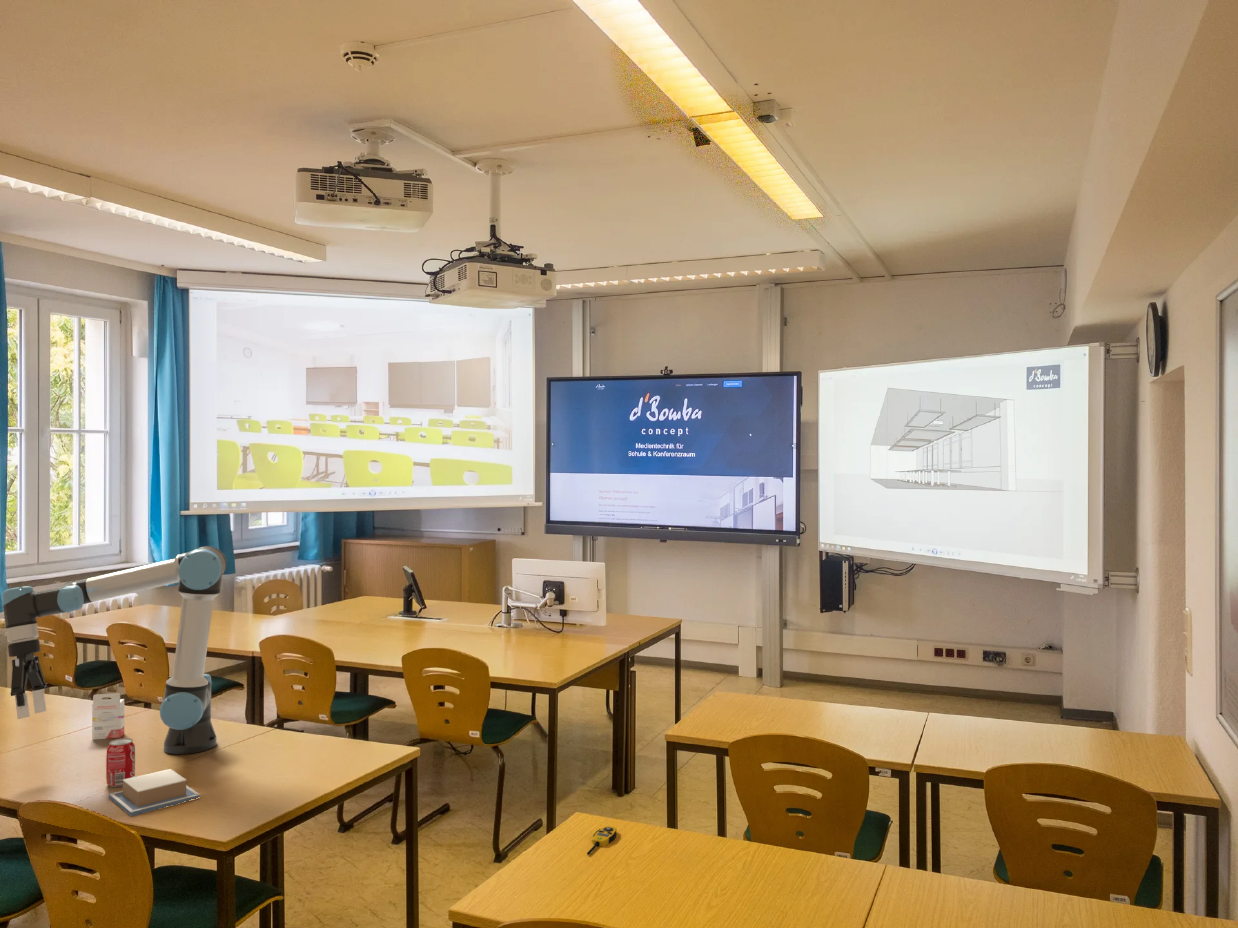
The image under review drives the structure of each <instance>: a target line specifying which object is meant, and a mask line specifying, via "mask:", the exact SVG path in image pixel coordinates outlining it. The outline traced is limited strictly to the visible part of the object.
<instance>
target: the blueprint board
mask: <svg viewBox="0 0 1238 928" xmlns="http://www.w3.org/2000/svg"><path fill="white" fill-rule="evenodd" d="M198 797H200V798H201V794H200V793H199V792H197V791H196V790H194V788H191V787H190V786H189V785H188V784H187V779H186V778H185V777H183V776H182V775H181V774H179V773H177V772H176V771H175V770H173V769H172V768H169V769H164V770H163V769H162V770H159V771H156V772H151V773H147V774H141V775H138V776H136V775H135V777H132V778H128V779H123V786H122V790H120V791H114V792H110V793H108V799H110V800H111V801H112V802H113V803H115V805H116V806H118V807H119V808H121V810H123V811H124V812H125V813H126V814H127V815H128V816H130V817H134V816H138V815H143V814H146V812H147V813H150V812H154V811H157V809H158V810H160V809H159V808H162V809H165V808H164V807H166V806H170V807H172V806H171V805H174V806H177V805H176V804H178V803H182V802H184V801H189V800H191V799H196V798H198ZM189 802H190V801H189ZM182 804H183V803H182ZM178 805H179V804H178ZM166 808H167V807H166ZM153 810H154V811H153Z"/></svg>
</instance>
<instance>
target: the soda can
mask: <svg viewBox="0 0 1238 928" xmlns="http://www.w3.org/2000/svg"><path fill="white" fill-rule="evenodd" d="M133 741H134V739H133V738H131V737H130V738H129V737H123V738H122V737H121V738H115V739H113V740H110V741H109V745H108V747H107V749H106V758H105V759H106V760H105V763H106V765H105V772H106V773H105V776H106V777H105V779H106V781H105V782H106V785H107V786H110V787H112V788H123V779H128V778H132V777H136V745H135V743H134V742H133Z"/></svg>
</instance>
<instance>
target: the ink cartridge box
mask: <svg viewBox="0 0 1238 928" xmlns="http://www.w3.org/2000/svg"><path fill="white" fill-rule="evenodd" d="M103 698H106V699H103ZM107 698H108V699H107ZM109 698H110V699H109ZM91 706H92V710H91V711H92V712H91V715H92V717H91V718H92V719H91V720H92V725H91V728H92V729H91V735H92V736H91V737H92V738H91V739H92V740H106V739H107V740H108V739H121V738H122V736H123V735H124V734H125V698H121V693H119V692H117V693H103V694H102V693H101V694H99V693H98V694H93V697H92V705H91Z"/></svg>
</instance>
